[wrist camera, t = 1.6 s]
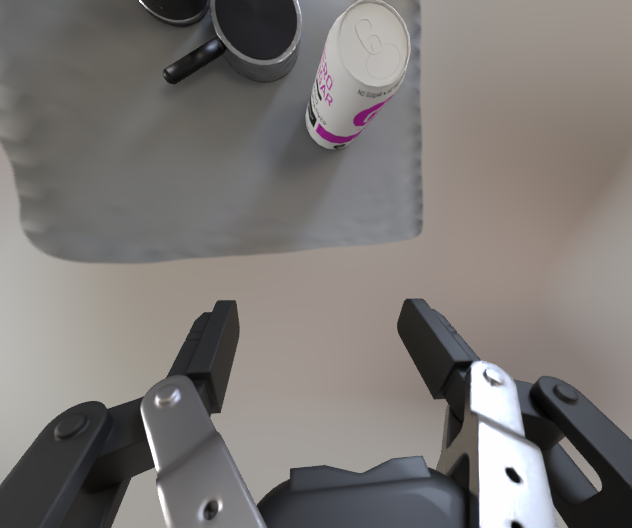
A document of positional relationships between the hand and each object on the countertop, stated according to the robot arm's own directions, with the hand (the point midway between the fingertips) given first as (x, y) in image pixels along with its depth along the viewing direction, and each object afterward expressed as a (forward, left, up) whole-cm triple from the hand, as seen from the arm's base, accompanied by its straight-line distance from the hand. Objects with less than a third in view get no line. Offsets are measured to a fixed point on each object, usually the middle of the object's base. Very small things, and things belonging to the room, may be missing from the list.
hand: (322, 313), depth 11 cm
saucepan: (-29, -4, -26) cm, 39 cm away
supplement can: (-20, +9, -26) cm, 34 cm away
